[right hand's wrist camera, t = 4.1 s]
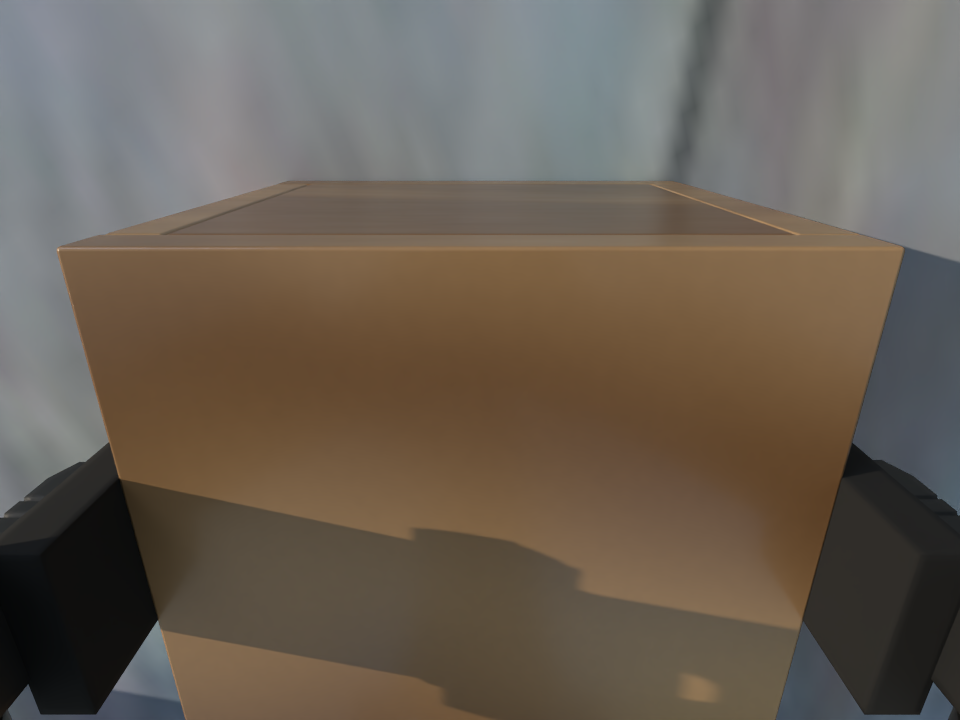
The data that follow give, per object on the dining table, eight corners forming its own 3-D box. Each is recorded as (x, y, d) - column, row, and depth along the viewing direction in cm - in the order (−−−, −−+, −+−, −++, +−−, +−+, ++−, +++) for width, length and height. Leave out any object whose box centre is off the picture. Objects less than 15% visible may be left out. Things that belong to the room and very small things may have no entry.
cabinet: (611, 703, 23) (688, 1039, 15) (348, 703, 23) (272, 1039, 15) (675, 180, 16) (908, 247, 7) (285, 180, 16) (53, 246, 7)
